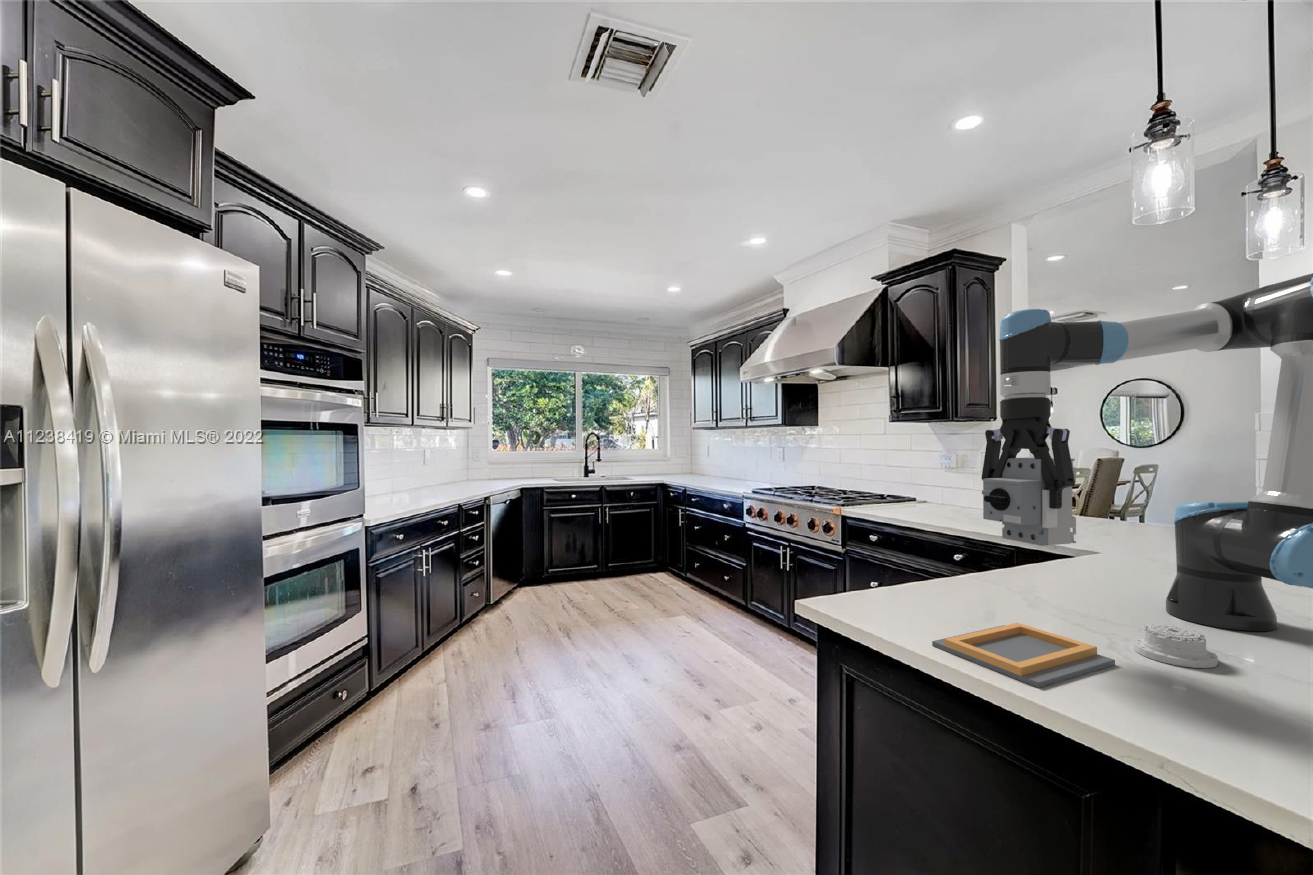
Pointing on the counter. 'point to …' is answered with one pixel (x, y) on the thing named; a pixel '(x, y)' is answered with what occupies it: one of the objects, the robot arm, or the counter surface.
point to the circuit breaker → (1026, 504)
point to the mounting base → (1026, 653)
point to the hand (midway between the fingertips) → (1025, 523)
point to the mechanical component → (1175, 646)
